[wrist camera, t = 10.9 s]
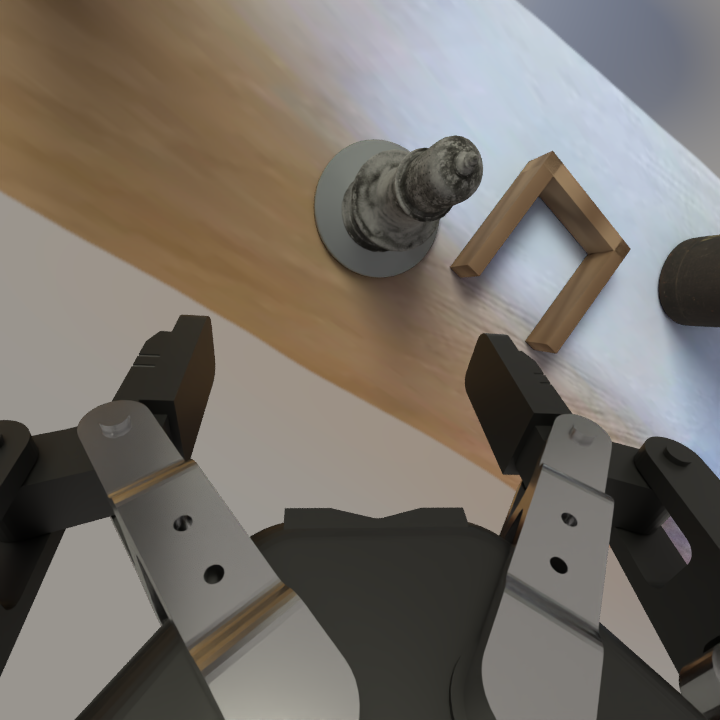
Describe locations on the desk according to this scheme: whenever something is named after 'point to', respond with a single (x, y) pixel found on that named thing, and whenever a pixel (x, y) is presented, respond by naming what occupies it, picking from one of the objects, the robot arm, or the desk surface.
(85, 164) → the desk surface
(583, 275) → the wooden arch
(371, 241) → the stone finial
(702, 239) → the container
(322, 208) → the grey oval disc
